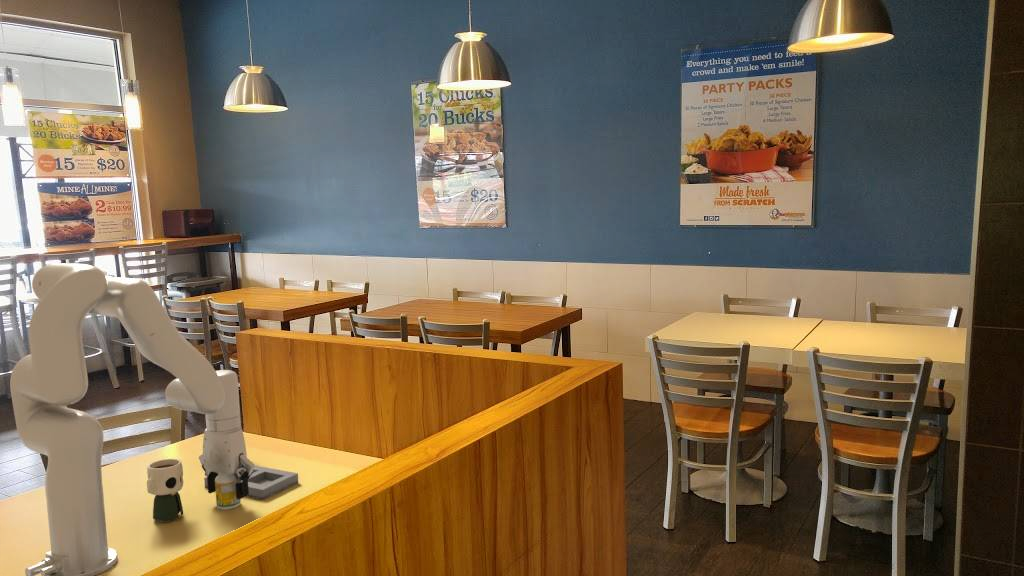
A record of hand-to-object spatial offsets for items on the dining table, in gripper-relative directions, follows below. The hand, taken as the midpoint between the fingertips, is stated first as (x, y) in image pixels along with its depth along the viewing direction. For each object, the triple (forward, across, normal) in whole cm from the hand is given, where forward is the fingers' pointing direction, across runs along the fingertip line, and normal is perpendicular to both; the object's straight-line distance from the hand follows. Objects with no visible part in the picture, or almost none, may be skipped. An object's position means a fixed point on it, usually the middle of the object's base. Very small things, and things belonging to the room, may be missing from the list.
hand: (228, 494), depth 172 cm
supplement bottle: (+3, 0, 0) cm, 3 cm away
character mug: (+3, -7, -11) cm, 13 cm away
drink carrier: (+3, -5, +12) cm, 13 cm away
